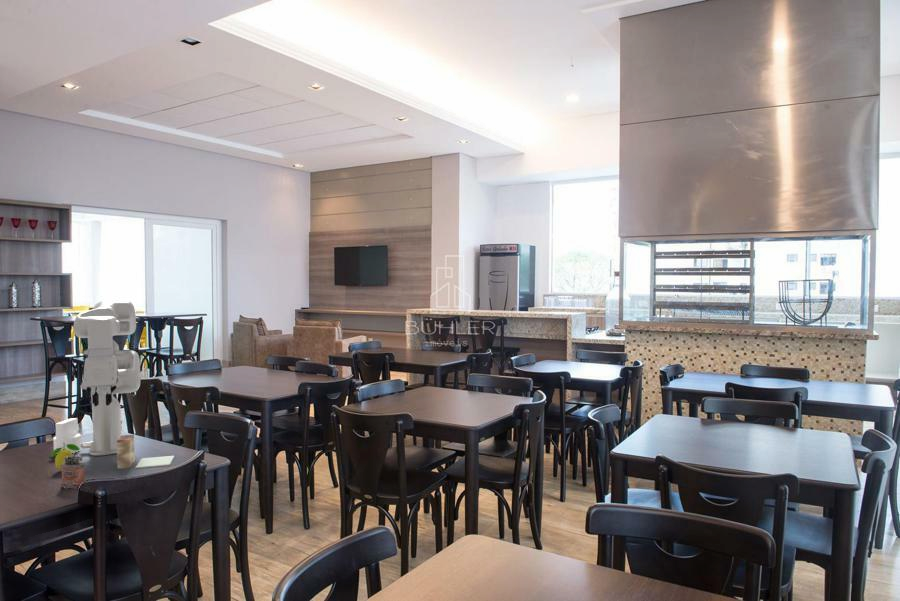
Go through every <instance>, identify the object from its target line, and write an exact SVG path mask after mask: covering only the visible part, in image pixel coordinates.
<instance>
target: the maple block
mask: <svg viewBox="0 0 900 601" xmlns="http://www.w3.org/2000/svg"><path fill="white" fill-rule="evenodd" d="M116 458H117V459H116V461H117V462H116V463H117V469H118V468H121V469H129V468H131V467H132V466H133V465H134V464H135V461H136V460H135V435H134V434H125V435H123V434H122V435H121V437H120V438H119V439H118V440H117V453H116ZM133 463H134V464H133Z"/></svg>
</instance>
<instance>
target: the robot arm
mask: <svg viewBox="0 0 900 601" xmlns="http://www.w3.org/2000/svg"><path fill="white" fill-rule="evenodd" d="M136 315H137V314H136V309H135V307H134V304H133V303H132V302H131V301H130V300H103V301H99V302H98V303H96V304H95V305H94V306H93V309H90V310H86V311H82V312H79V313H78V314H77V315H76V316H75V319H74V321H73V326H72V327H73V333H74V335H75V336H76V337H77V338H79V339H87V349H85V350H83V355H87V357H86V358H85V360H84V366H83V381H82V383H81V384H80V386H79V387H80V389H83V390H85V391H87V392H89V394H90V397H91V413H92V414H91V415H92V416H91V417H92V418H91V420H92V440H91V441H87V442H86V441H85V442H81V449H88V454H89V455H90V456H97V457H98V456H99V457H100V456H109V455H114V454H117V440H118V439H119V438H120V437H121V436H122V414H121V413H122V412H121V411H122V410H121V402H119V400H118V399H117V398H116V397H115V396H114V395H116V394H117V395H118V394H130V393H134V392H137V391H138V390H139V388H140V387H141V361H140V360H141V359H140V355H139V353H138V352H137V351H135V350H130V349H126V350H123V349H122V350H120V347H119V344H118V343H117V342H116V341H115V340H114V339H113V337H114V336H126V335H128V336H129V335H132V334H134V333H135V331H136V329H137V320H136Z"/></svg>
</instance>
